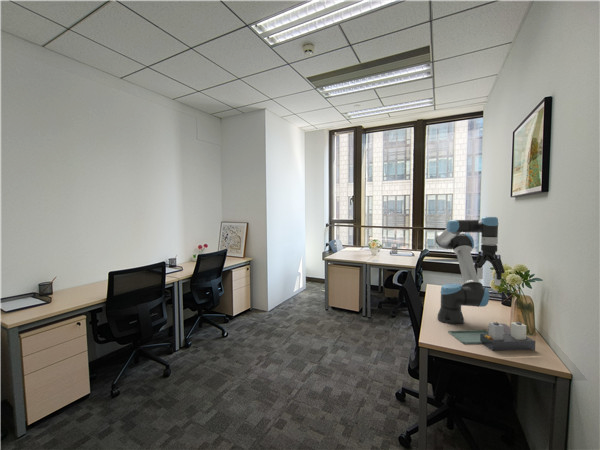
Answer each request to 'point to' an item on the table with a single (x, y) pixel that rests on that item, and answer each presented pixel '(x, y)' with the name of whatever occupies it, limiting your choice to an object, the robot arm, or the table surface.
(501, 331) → the twin plug
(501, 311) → the table surface
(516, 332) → the plug
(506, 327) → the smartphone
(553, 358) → the table surface
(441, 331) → the table surface
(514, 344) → the strip
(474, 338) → the tray
